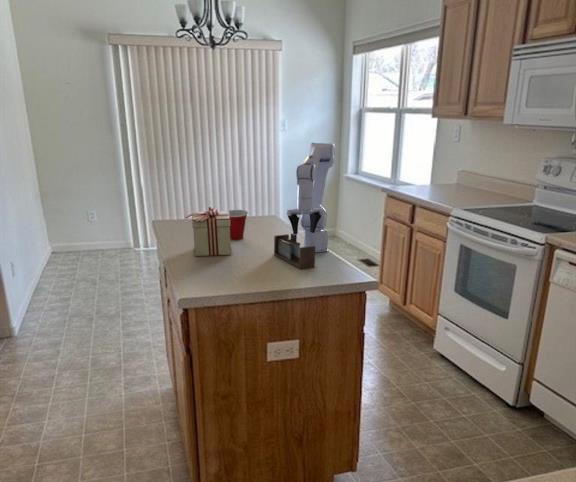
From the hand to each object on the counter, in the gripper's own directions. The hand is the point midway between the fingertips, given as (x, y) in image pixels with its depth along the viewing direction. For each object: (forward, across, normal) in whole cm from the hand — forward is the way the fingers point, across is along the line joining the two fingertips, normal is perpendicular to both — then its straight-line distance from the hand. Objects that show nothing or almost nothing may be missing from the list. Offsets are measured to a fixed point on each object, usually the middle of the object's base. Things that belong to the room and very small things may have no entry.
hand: (303, 233), depth 206 cm
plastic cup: (+10, -10, +43) cm, 45 cm away
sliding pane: (+9, -3, +3) cm, 10 cm away
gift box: (+11, -29, +26) cm, 40 cm away
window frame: (+10, -4, 0) cm, 11 cm away
